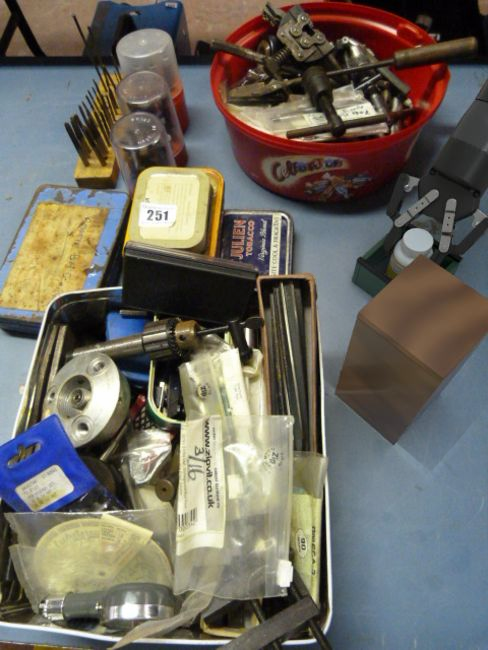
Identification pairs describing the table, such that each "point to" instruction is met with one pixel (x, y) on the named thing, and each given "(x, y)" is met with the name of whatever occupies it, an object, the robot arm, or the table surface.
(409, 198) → the table surface
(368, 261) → the tray
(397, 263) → the supplement bottle
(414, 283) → the brown rectangular block
